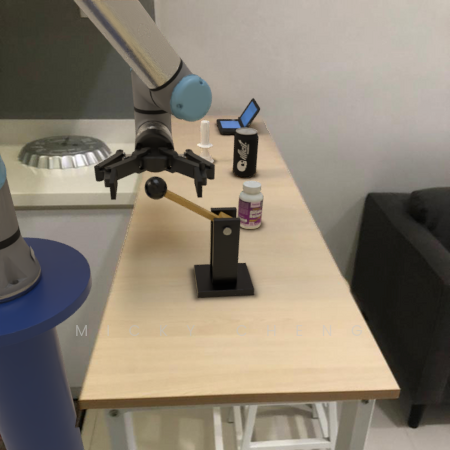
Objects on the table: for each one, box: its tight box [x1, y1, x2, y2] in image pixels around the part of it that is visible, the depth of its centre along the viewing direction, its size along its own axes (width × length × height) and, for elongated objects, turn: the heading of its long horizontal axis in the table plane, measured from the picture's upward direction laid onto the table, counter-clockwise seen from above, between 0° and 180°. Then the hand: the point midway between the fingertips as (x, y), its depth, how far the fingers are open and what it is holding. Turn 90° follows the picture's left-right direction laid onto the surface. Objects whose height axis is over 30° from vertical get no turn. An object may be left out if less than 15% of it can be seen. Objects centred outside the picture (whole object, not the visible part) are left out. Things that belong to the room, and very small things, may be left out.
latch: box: [143, 175, 233, 222], centre depth 76 cm, size 16×4×4 cm, turn 98°
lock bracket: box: [193, 206, 255, 298], centre depth 82 cm, size 10×9×14 cm
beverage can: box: [232, 127, 260, 179], centre depth 127 cm, size 7×7×12 cm
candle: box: [196, 119, 215, 164], centre depth 135 cm, size 5×5×12 cm
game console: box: [215, 97, 261, 135], centre depth 164 cm, size 16×14×9 cm
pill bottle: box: [237, 180, 264, 230], centre depth 102 cm, size 5×5×10 cm
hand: (156, 190), depth 73 cm, fingers open, 13 cm apart
